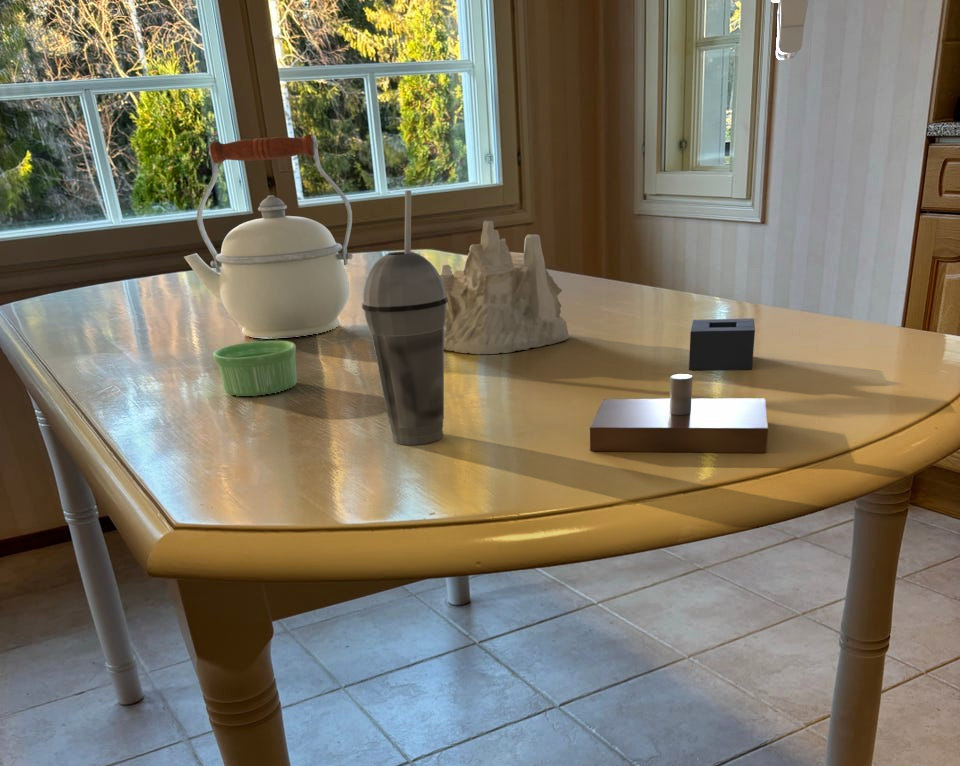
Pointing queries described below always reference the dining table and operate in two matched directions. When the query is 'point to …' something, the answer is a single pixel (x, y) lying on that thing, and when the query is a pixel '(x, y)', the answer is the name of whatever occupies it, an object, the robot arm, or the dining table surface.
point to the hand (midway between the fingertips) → (787, 56)
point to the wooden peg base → (680, 423)
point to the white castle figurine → (501, 299)
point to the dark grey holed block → (722, 344)
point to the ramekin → (257, 367)
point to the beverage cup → (408, 339)
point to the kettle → (276, 255)
